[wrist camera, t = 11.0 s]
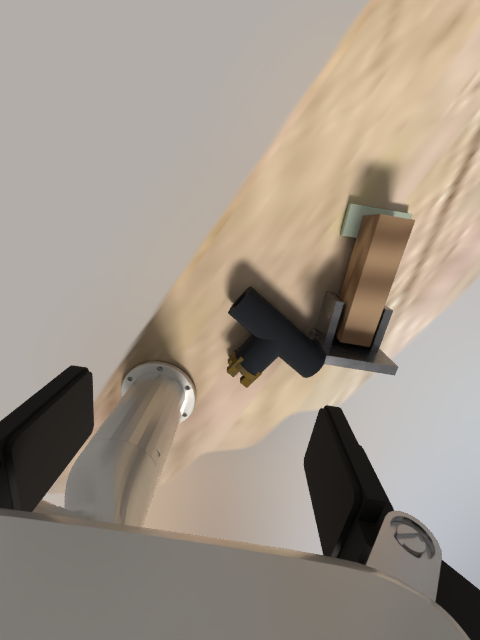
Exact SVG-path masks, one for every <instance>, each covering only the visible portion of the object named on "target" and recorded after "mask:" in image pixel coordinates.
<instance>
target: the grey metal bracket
mask: <svg viewBox="0 0 480 640" xmlns="http://www.w3.org/2000/svg"><path fill="white" fill-rule="evenodd" d="M339 295H340V294H336V293H329V292H326V295H325V299H324V302H323V306H322V310H321V313H320V317H319V321H318V324H317V328H316V329H311V332H310V335H309V336H310V338H311V340H312V342H313V344H314V346H315V347H316V349H317V351H318V353H319V355H320V357H321V359H322V361H323V363H324V364H327V365H334V366H340V367H346V368H352V369H359V370H365V371H371V372H377V373H384V374H390V375H395V374H396V371H397V369H398V366H397V365H396V364H395V363H393V361H392V360H391V359H390V358H388V357H387V356H386V355H385V354H384V353H383V352H382V351H381V350H380V349H379V347H380V345H381V342H382V339H383V337H384V334H385V331H386V328H387V326H388V323H389V320H390V318H391V315H392V312H393V310H391V309H390V308H388V307H387V306H384V308H383V311H382V314H381V317H380V320H379V322H378V325H377V328H376V331H375V334H374V336H373V339H372V342H371V345H370V347H367V346H361V345H355V344H349V343H343V342H340V341H339V340H338V339H337V337H336V336H335V335H334V334H335V331H336V328H337V324H338V321H339V318H340V314H341V311H342V308H343V304H344V302H343V301H342V300H341V299H339Z"/></svg>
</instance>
